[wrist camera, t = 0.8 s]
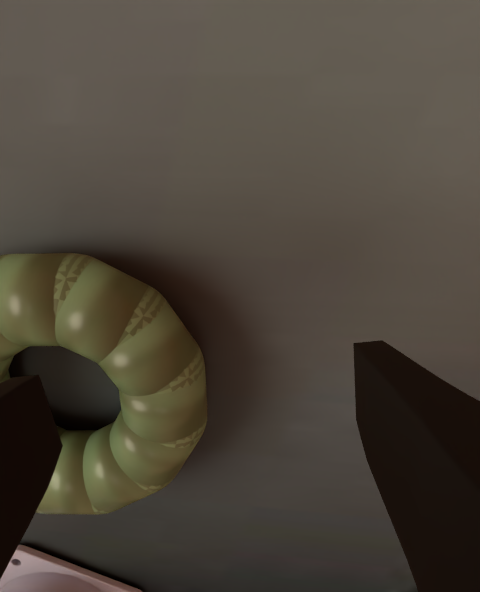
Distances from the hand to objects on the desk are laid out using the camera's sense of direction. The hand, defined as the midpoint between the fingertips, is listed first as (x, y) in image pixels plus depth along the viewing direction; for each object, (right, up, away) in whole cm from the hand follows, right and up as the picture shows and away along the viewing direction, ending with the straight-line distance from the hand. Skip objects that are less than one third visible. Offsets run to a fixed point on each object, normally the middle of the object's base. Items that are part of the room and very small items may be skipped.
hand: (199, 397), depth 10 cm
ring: (-7, -2, +9) cm, 11 cm away
